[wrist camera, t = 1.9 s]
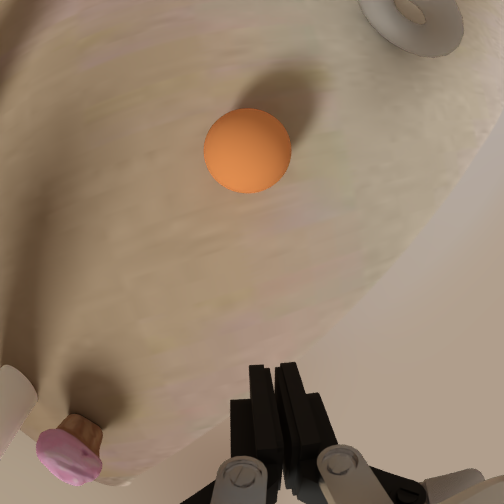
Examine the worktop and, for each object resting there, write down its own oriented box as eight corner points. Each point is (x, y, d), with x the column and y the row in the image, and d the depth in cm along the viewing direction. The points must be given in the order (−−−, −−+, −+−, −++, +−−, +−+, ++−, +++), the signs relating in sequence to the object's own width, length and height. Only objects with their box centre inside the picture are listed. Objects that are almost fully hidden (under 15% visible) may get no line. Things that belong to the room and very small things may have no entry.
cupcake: (95, 449, 31) (76, 498, 21) (48, 413, 29) (21, 460, 19) (124, 433, 30) (106, 491, 20) (71, 391, 28) (39, 446, 18)
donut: (427, 57, 20) (490, 29, 11) (413, 75, 21) (481, 47, 11) (352, -9, 18) (395, -62, 9) (334, 6, 19) (376, -52, 9)
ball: (208, 192, 23) (200, 198, 17) (206, 118, 21) (198, 100, 16) (284, 190, 23) (300, 195, 17) (282, 117, 22) (298, 99, 16)
